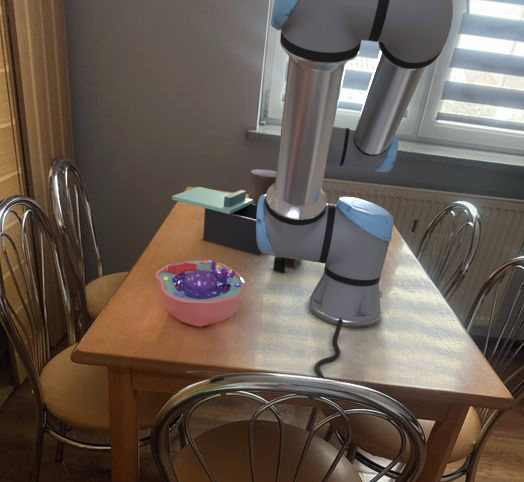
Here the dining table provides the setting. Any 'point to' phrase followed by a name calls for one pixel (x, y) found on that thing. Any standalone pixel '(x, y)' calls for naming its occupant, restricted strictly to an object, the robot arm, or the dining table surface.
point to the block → (292, 262)
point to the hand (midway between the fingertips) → (288, 262)
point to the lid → (214, 199)
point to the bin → (232, 228)
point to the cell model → (199, 291)
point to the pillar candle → (260, 183)
